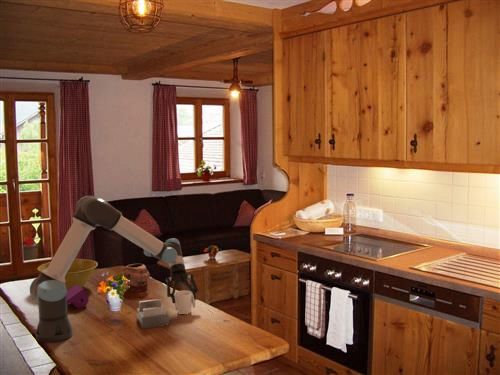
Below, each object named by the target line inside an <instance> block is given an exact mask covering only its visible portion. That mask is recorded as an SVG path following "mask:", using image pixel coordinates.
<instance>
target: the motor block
mask: <svg viewBox="0 0 500 375" xmlns="http://www.w3.org/2000/svg"><path fill="white" fill-rule="evenodd" d="M136 311H137V312H136V313H137V317H136V318H137V321H138V323H139V325H140V327H141V328H142V330H143V329H150V328H151V327H152V328H157V327H156V326H159V327H162V326H161V325H166V326H168V325H167V324H169V325H170V317H169V313H168V312H167V307H166V306H165V305H162V299H161V298H158V299H157V298H156V299H149V300H141V301H139V306H138V307H137V309H136ZM152 328H151V329H152Z"/></svg>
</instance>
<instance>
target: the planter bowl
mask: <svg viewBox="0 0 500 375" xmlns="http://www.w3.org/2000/svg"><path fill="white" fill-rule="evenodd" d="M50 263H51V261H49V262H46V263H43V264H41V265H39V266H38V267H37V271H38V272H40V273H41V271H42V270H45V269H47V268H48V266H49V264H50ZM98 265H99V264H98V262H97V261H95V260H92V259H84V258H75V259H74V261H73V262H72V264H71V266H70V268H69V270H68V271H67V273H66V275H65V281H66V282H65V285H66V289H67V291H68V290H69V289H71V288H72V287H73V286H75V285H77V286H79V287H81V288H84V287H85V286H86V284H87V282H88V281H89V278H90V276H92V275H93V274H94V273H95V270H96V268H97V267H98ZM40 273H39V274H40Z"/></svg>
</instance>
